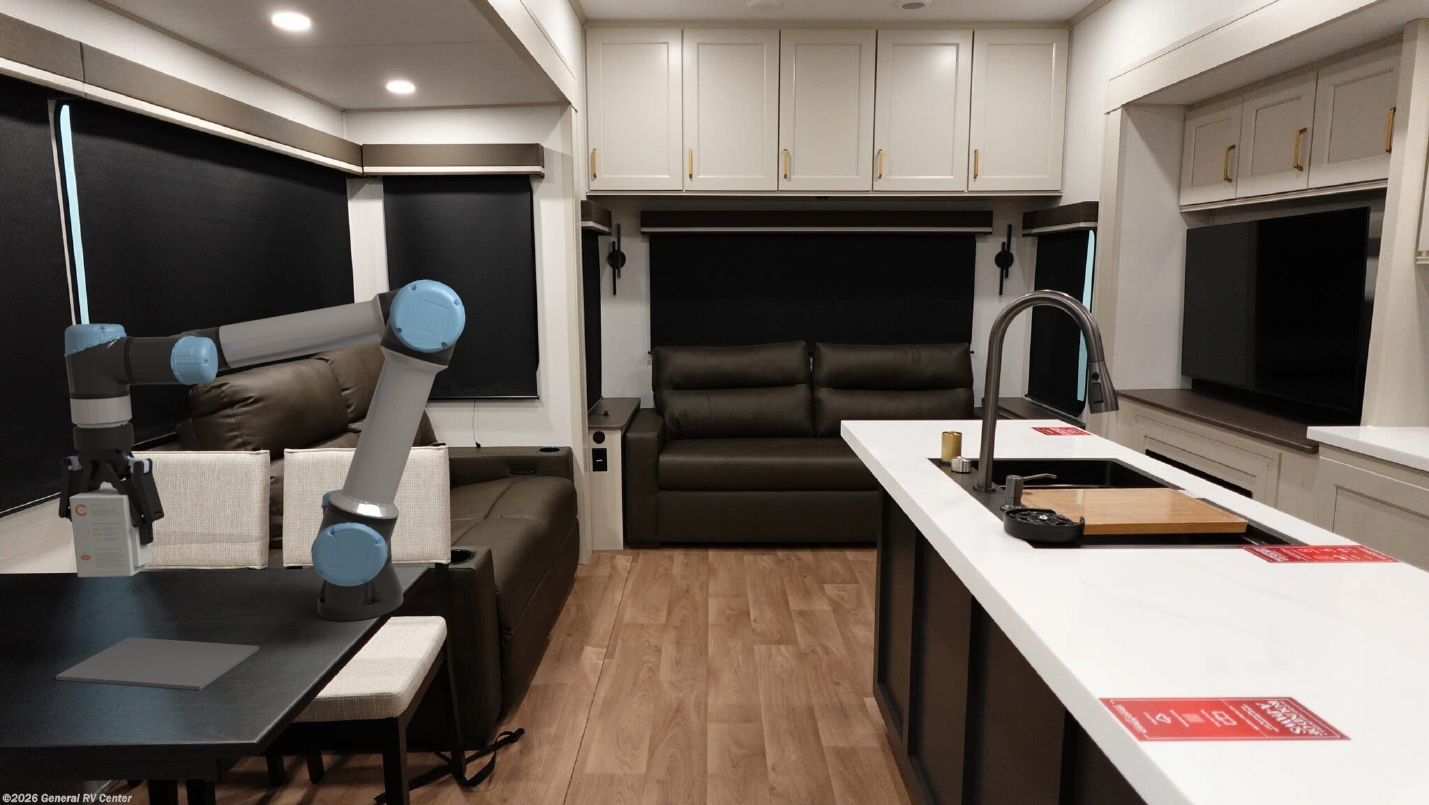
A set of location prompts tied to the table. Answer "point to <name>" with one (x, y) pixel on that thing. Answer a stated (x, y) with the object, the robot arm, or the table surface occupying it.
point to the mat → (160, 663)
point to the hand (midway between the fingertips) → (115, 561)
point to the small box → (103, 534)
